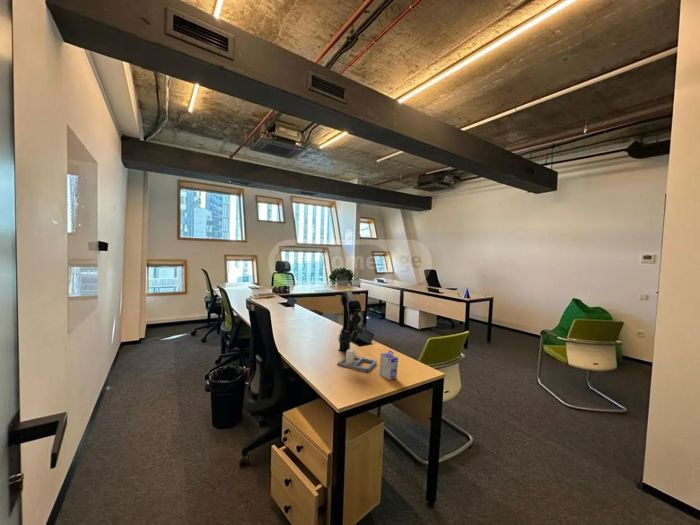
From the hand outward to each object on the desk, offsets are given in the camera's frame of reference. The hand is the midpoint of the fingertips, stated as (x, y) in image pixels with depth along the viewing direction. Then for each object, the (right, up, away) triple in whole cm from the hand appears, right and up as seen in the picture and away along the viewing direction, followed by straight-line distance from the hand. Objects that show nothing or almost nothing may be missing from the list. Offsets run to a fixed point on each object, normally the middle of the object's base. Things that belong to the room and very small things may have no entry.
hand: (351, 344), depth 184 cm
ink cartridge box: (+21, -14, -16) cm, 30 cm away
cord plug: (-1, -12, +1) cm, 12 cm away
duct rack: (+4, -12, -2) cm, 13 cm away
